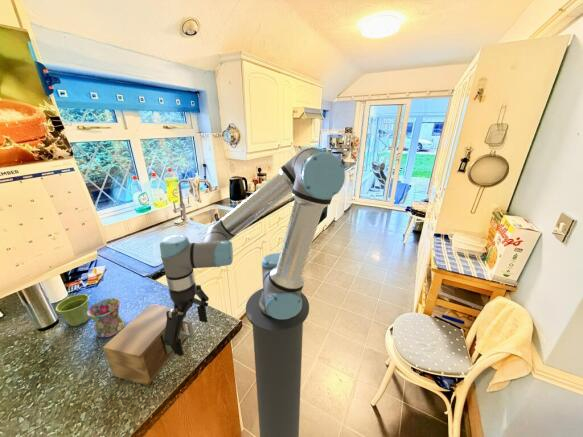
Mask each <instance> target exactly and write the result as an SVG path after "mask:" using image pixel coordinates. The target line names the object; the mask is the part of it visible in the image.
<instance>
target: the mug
mask: <svg viewBox="0 0 583 437" xmlns="http://www.w3.org/2000/svg"><path fill="white" fill-rule="evenodd" d="M120 304H121V302H120V299H118V298H115V297H110V298H105V299H102V300H100V301H97V302H96V303H94V304H92V305H91V306H89V309H88V311H87V316H88V317H90V318H89V319H91V320H92V321H93V322H94V325H93V328H94V331H95V332H96V336H97V337H98V338H101V339H106V338H110V337H112V336H116V335H117V334H118V333H119V332H120V331H121V330H122V329H123V328H125V325H126V321H125V320H124V319H123V318H122V317H121V316H120V312H119V309H120Z"/></svg>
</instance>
